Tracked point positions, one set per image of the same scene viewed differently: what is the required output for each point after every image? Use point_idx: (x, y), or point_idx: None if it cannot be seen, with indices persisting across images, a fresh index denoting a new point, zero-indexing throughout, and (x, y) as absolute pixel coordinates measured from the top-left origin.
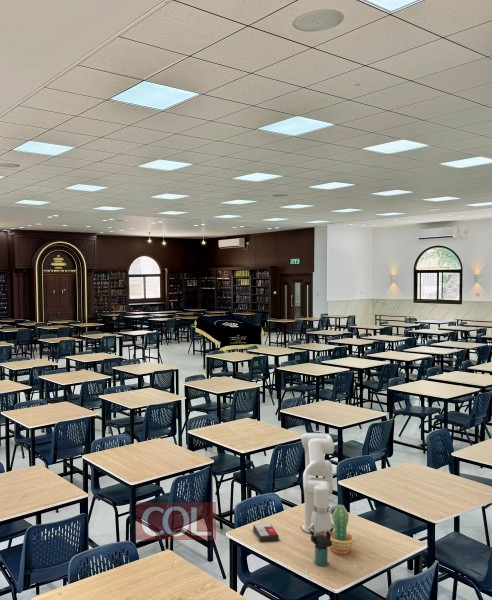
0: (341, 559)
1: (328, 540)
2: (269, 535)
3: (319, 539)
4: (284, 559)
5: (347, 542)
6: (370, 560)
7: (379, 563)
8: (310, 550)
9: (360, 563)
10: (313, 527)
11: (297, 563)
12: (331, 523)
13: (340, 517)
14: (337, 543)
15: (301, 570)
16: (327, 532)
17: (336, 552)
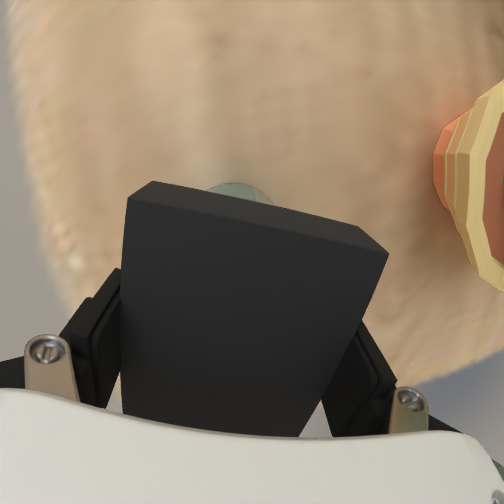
0: (389, 256)
1: (282, 420)
2: None
3: (185, 365)
4: (39, 79)
5: (497, 288)
6: (470, 324)
7: (466, 353)
8: (303, 39)
9: (421, 330)
10: (38, 445)
11: (75, 157)
12: None
13: None
14: (462, 235)
15: (55, 244)
16: (369, 425)
17: (433, 175)
